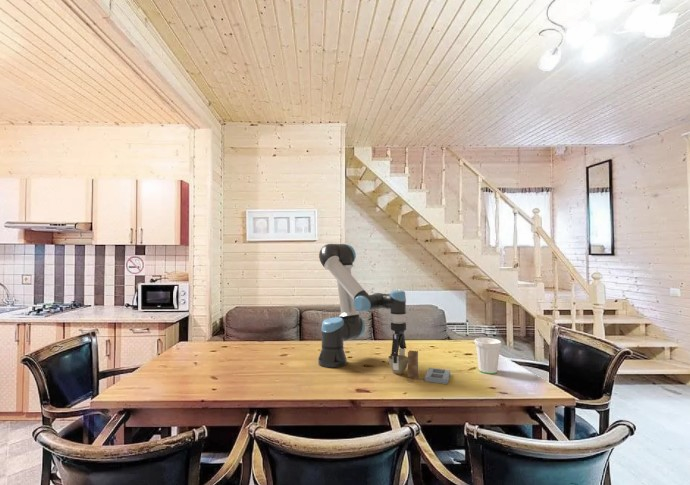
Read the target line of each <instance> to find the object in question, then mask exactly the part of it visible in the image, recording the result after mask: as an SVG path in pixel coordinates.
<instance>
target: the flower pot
mask: <svg viewBox="0 0 690 485" xmlns="http://www.w3.org/2000/svg"><path fill="white" fill-rule="evenodd" d="M398 356H399V370H393V356H391V355H389V356H388V357H387V358H388V363H389V367H390V369H391V371H392V373H393V372H394V373H393V374H395V373H397V374H396V375H402V373H403V372H405V371H406V369H407V368H408V355H405V356H403V355H399V354H398ZM403 374H404V373H403Z"/></svg>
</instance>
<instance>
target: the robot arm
mask: <svg viewBox="0 0 690 485" xmlns="http://www.w3.org/2000/svg"><path fill="white" fill-rule="evenodd" d="M319 250H320V251H319V253H318V259H319V262H320V264H321V265H322V266H323V268H324V269H325V270H327V271H329V273H330V274H331V275H332V276H333V278H335V279H336V283H337V290H338V298H339V305H340V306H339V307H340V314H339V315H338V317H337V316H334V317H329V318H326V319H324V320H322V322H321V329H320V330H321V349H320V352H319V355H318V360H317V362H318V363H317V364H318V365H319V366H321V367H324V368H340V367H345V366H346V365H347V363H348V362H347V360H348V358H347V357H346V356H347V355H346V353H345V349H344V342H346V341H350V340H355V339H358V338H361V337H362V336H363V334H364V333H365V329H366V325H365V321H364V320H363V318H362V317H361V316H360V313H361V312H364V313H365V312H367V311H368V312H369V311H373V310H374V311H375V310H380V309H381V310H382V309H387V310H390V330H391V331H392V332H393V331H394V333H393V334H392V344H391V353H390V356H393V370H399V356H398V355H403V356H406V349H407V346H406V345H407V344H406V338H405V331H407V323H406V321H407V318H408V315H407V314H406V313H407V312H406V310H407V308H406V306H407V304H406V303H407V298H406V292H405V290H391V291H390V293H383V292H382V293H380V292H374V293H373V294H369V293H368V292H367V291H366V290H365V288H363V287H362V285H361V284H360V283H359V282H358V280H357V279H356V278H355V277H354V276H353V275H352V268H353V266H354V264H353V263H354V262H355V260H356V258H357V257H356V256H357V253H356V251H355V249H354V247H353V246H351V245H350V244H345V243H327V244H325V245H323V246H322V247H321V248H320V249H319ZM359 312H360V313H359Z"/></svg>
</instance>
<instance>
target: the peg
mask: <svg viewBox="0 0 690 485" xmlns="http://www.w3.org/2000/svg"><path fill="white" fill-rule="evenodd" d="M407 357H408V364H407V379H412V380H417V379H418V378H419V352H418V350H409V351H408V352H407Z"/></svg>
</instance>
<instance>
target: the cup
mask: <svg viewBox="0 0 690 485" xmlns="http://www.w3.org/2000/svg"><path fill="white" fill-rule="evenodd" d="M474 344H475V347H476V348H475V349H476V356H477V364H478V371H479V372H480V373H482V374H486V375H495V374H497V373H498V368H499V367H498V366H499V357H500V351H501V349H500V348H501V346H502V341H501V340H500V339H498V338H490V337H476V338H474Z"/></svg>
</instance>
